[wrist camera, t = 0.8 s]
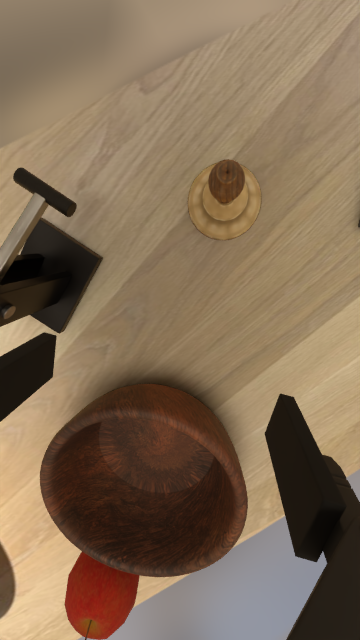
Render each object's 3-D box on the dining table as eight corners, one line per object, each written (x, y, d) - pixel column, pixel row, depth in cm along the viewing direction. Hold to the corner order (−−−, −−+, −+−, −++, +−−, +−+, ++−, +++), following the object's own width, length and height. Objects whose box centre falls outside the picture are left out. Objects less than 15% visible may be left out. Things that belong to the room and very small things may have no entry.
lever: (30, 174, 26) (16, 161, 24) (80, 207, 27) (71, 198, 24) (-43, 291, 27) (-64, 290, 25) (7, 322, 27) (-9, 324, 25)
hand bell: (214, 254, 34) (213, 267, 19) (173, 194, 33) (138, 156, 17) (275, 210, 32) (330, 185, 17) (234, 145, 31) (254, 52, 15)
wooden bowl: (87, 499, 48) (54, 567, 38) (67, 364, 41) (20, 404, 31) (237, 513, 45) (244, 590, 35) (243, 369, 38) (253, 415, 28)
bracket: (42, 217, 35) (-61, 205, 22) (103, 257, 36) (37, 269, 23) (7, 295, 39) (-99, 324, 26) (63, 331, 39) (-13, 377, 26)
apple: (159, 533, 48) (138, 646, 34) (129, 564, 51) (99, 679, 37) (108, 501, 47) (66, 603, 34) (81, 534, 50) (33, 640, 37)
